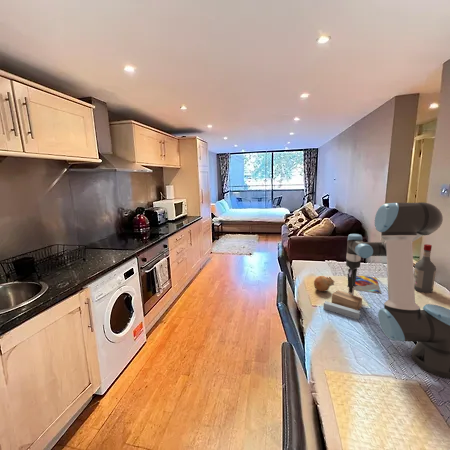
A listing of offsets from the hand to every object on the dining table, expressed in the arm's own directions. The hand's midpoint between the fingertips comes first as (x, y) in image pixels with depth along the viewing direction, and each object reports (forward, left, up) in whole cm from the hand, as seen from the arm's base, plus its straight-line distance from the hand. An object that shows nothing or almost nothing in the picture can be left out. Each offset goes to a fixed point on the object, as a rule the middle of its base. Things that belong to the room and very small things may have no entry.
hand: (350, 296), depth 151 cm
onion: (0, +18, -2) cm, 18 cm away
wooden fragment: (+13, +20, -2) cm, 24 cm away
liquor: (+39, -33, -2) cm, 51 cm away
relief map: (+28, -3, -2) cm, 29 cm away
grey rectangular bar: (-20, 0, -1) cm, 20 cm away
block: (-10, 0, -2) cm, 10 cm away
